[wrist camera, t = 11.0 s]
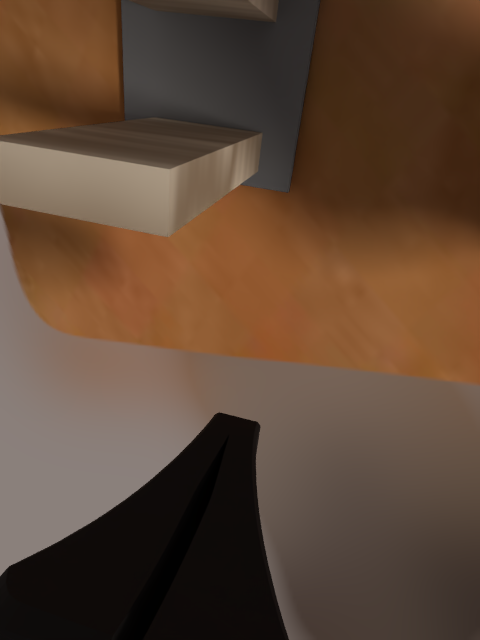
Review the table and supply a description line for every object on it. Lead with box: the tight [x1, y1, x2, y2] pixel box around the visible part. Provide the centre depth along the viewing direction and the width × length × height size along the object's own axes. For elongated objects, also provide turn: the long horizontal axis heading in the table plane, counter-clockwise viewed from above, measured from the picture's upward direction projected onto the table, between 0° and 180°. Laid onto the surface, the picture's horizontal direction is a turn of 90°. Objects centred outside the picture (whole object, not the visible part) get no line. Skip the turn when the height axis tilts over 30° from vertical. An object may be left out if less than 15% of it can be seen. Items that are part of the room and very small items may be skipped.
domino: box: [0, 117, 262, 237], centre depth 14 cm, size 2×5×10 cm, turn 84°
